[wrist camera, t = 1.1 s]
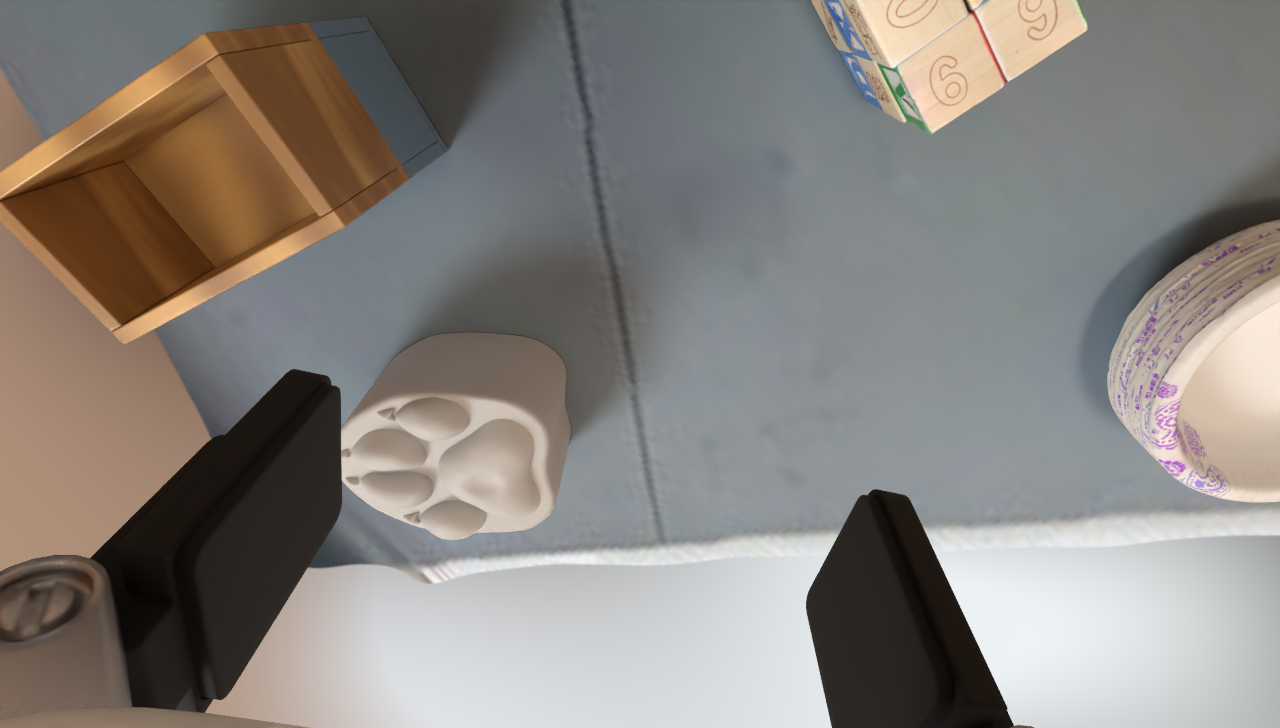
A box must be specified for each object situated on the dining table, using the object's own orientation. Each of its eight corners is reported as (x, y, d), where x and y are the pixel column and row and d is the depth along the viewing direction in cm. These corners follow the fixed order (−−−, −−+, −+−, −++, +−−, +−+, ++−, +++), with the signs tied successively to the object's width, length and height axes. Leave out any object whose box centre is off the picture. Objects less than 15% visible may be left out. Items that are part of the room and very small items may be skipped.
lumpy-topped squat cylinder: (573, 462, 46) (554, 555, 39) (394, 458, 46) (341, 549, 39) (563, 333, 41) (540, 411, 33) (361, 330, 41) (293, 407, 34)
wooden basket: (222, 280, 33) (123, 345, 27) (110, 150, 30) (-31, 191, 24) (410, 178, 30) (346, 226, 24) (307, 21, 27) (203, 32, 21)
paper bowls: (1022, 362, 41) (1094, 439, 34) (1241, 142, 33) (1388, 183, 27) (1192, 458, 44) (1288, 545, 37) (1424, 275, 37) (1597, 342, 30)
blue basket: (282, 240, 38) (222, 280, 33) (192, 125, 35) (110, 150, 30) (448, 149, 35) (410, 178, 30) (366, 15, 32) (307, 21, 27)
